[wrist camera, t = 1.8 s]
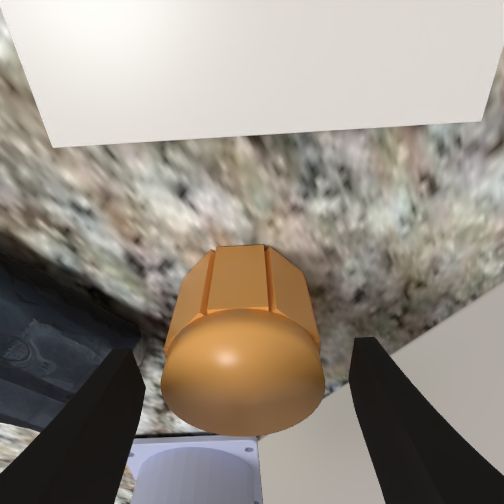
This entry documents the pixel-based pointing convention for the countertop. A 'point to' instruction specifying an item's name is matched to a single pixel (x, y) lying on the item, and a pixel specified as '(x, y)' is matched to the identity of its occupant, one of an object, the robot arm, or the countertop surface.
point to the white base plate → (252, 65)
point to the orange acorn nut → (243, 345)
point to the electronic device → (51, 344)
